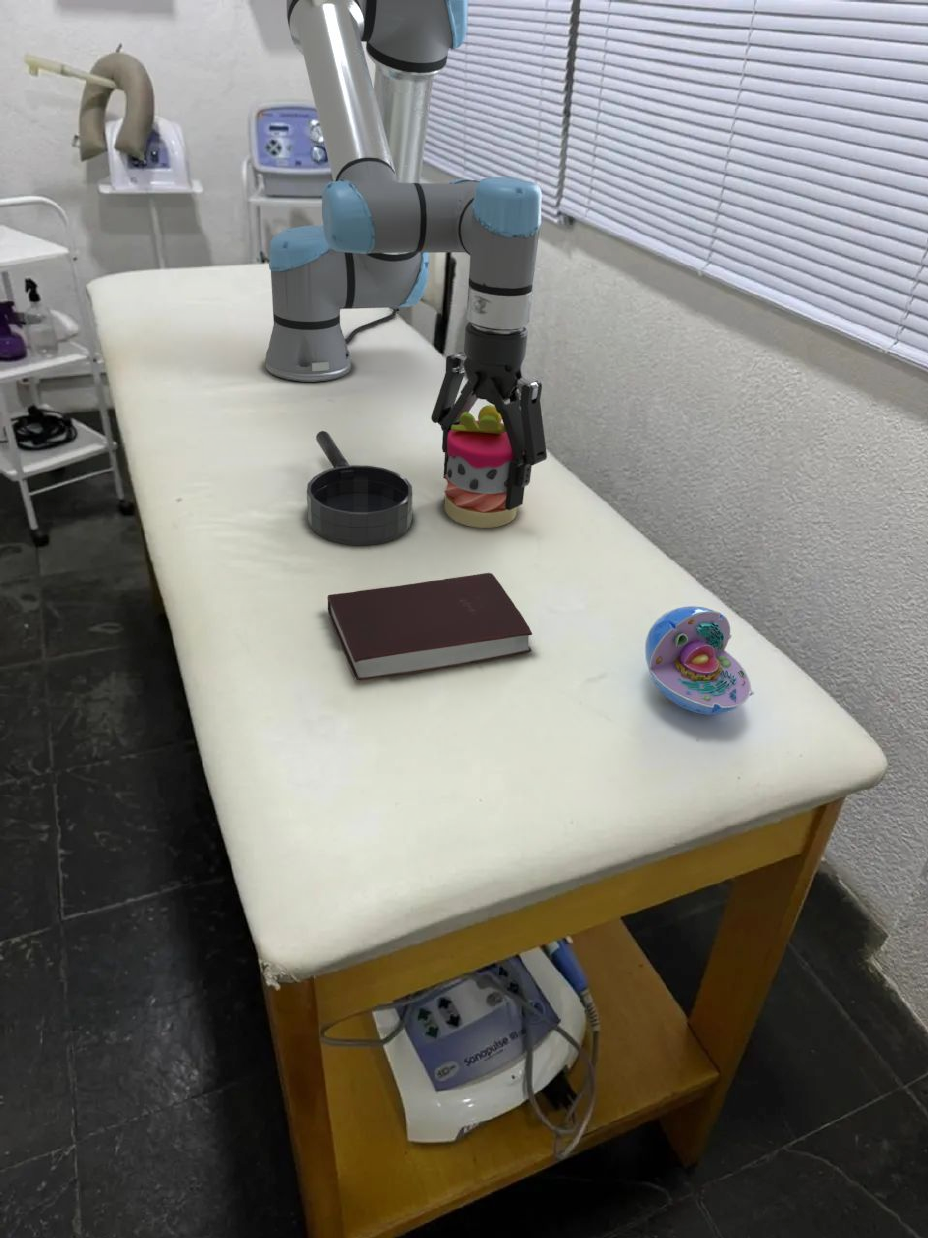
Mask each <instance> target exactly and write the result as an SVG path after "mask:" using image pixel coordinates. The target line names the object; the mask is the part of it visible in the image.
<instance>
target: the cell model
mask: <svg viewBox="0 0 928 1238" xmlns="http://www.w3.org/2000/svg"><path fill="white" fill-rule="evenodd" d="M645 638H646V639H645V642H644V644H645V645H644V654H645V655H644V656H645V661H646V665H647V669H648V672H649V675H650V677H651V679H652V682H653V683H654V685H655V686H656V688H657V689H658V690H659V691H660V693H661V694H663V696H665V697H666V699H668V700H669V701H671V702H672V703H673V704H675V705H676V706H678V707H679V708H682V709H685V710H688V711H690V712H692V713H697V714H702V715H710V716H712V715H713V716H714V715H722V714H725V713H726V714H727V713H729V712H732V711H734V710H736V709H737V708H738V707H740V706H741V705H743V704H744V703H746V702H747V701H748V699H749V698H750V697H751V696H752V695H754V694H755V691H754V690H752V685H751V680H750V678H749V675H748V673H747V672H746V669H744V667H743V666H742V664H741V663H739V661H738V660H737V659H736V658H734V656H733V655H731V654H730V653H729V652H727V651H726V647H727V646H728V643H729V642H730V640H731V638H732V634H731V624H730V622H729V620H728V618H727V617H726V616H725V614H723V613H721V612H718V611H716V610H713V609H710V608H707V607H703V606H695V605H691V606H690V605H689V606H682V607H676V608H673V609H671V610H669V611H667V612H665V613H664V614H662V615H661V616H660V617H658V618H657V619H656V621H655V622H654V623H653V624H652V626H651V627H650V629H649V630H648V633H647V636H646V637H645Z"/></svg>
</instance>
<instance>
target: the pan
mask: <svg viewBox="0 0 928 1238" xmlns="http://www.w3.org/2000/svg"><path fill="white" fill-rule="evenodd" d="M345 470H353V471H354V477H353V478H345V479H341V478H340V471H345ZM306 505H307V506H306V509H307V520H308V524H309V527H310V528H311V529H312V530H313V531H314V533H315V534H317V535H318V536H320V537H322V538H323V539H326V540H328V541H331V542H334V543H337V544H341V545H348V546H349V545H350V546H373V545H374V546H375V545H379V544H385V543H388V542H391V541H394V540H395V539H397V538H400V537H401V536H403V535H404V534H405V533H406V532H407V531H408V530H409V529H410V526H411V524H412V517H413V516H412V515H413V486H412V483H410V481H409V480H408V479H407V478H406V477H404V476H403V475H401V474H400V473H398V472H396V471H393V470H390V469H388V468H384V467H379V466H373V465H362V464H361V465H357V464H356V465H355V464H354V465H352V464H351V465H350V466H343V467H336V468H334V467H333V468H329V469H325V470H323V471H322V472H320V473H318V474H316V475H314V476H313V477H312V478H311V479H310V480H309V482H308V483H307V486H306Z"/></svg>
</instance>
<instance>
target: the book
mask: <svg viewBox="0 0 928 1238" xmlns="http://www.w3.org/2000/svg"><path fill="white" fill-rule="evenodd" d="M327 613H328V616H329V618H330V621H331V624H332V627H333V629H334V631H335V634H336V636H337V638H338V641H339V643H340V646H341V648H342V652H343V653H344V655H345V657H346V660H347V664H348V665H349V667H350V671H351V672H352V675H353V677H354V678H355V680H356V681H367V680H376V679H382V678H389V677H395V676H401V675H402V676H403V675H407V674H414V673H422V672H428V671H434V670H441V669H449V668H454V667H459V666H464V665H468V664H469V665H471V664H476V663H481V662H487V661H491V660H497V659H498V660H499V659H503V658H508V657H512V656H517V655H523V654H527V653H531V652H532V651H533V650H532V649H531V647H530V646H529V637H530V636H532V635H533V632H532V630H531V629H530V626H529V625H528V623H527V621H526V620H525V618H524V616H523V615H522V613H521V611H520V610H519V609H518V607H516V605H515V603H514V602H513V600H512V599H511V597H510V596H509V595H508V593H507V592H506V590H505V589H504V587H503V586H502V585H501V583H500V581H498V579H497V577H496V576H495V575H494V574H493V573H491V572H485V573H483V572H482V573H478V574H477V573H476V574H470V575H465V576H456V577H449V578H444V579H436V580H428V581H422V582H416V583H415V582H414V583H408V584H407V583H406V584H402V585H401V584H400V585H393V586H384V587H377V588H369V589H361V590H355V591H349V592H341V593H331V594H328V595H327Z"/></svg>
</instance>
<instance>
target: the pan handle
mask: <svg viewBox="0 0 928 1238" xmlns="http://www.w3.org/2000/svg"><path fill="white" fill-rule="evenodd" d="M315 440H316V442H317V444H318V446H319V447H320V448H321V450H322V451H323V453H324V455H325V456H326V458H327V460H328V461H329V463H330V465H331V466H332V467H333V468H336V467H343V466H351V465H350V463H349V462H348V460H347V459H346V457H345V456H344V455H343V453H342V451H341V450H340V449H339V447H338V445H337V444H336V442H335V441H334V439H333V438H332V437H331V434H329V433H328V432H327V431H325V430H321V431H318V432H317V433H316V436H315ZM353 477H354V471H353V470H345V471H340V478H341V479H345V478H353Z"/></svg>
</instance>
